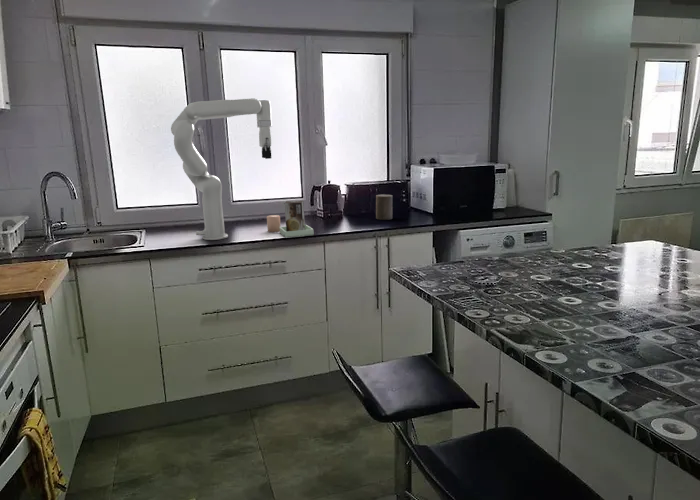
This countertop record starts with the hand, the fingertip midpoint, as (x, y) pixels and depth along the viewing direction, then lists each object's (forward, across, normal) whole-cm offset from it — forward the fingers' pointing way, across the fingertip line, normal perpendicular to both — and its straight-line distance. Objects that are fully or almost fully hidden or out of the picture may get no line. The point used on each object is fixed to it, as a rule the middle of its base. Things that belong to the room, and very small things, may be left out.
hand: (266, 158), depth 267 cm
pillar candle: (+38, -5, +68) cm, 78 cm away
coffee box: (+38, +17, +10) cm, 43 cm away
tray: (+38, +17, +10) cm, 43 cm away
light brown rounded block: (+38, +3, +1) cm, 39 cm away
